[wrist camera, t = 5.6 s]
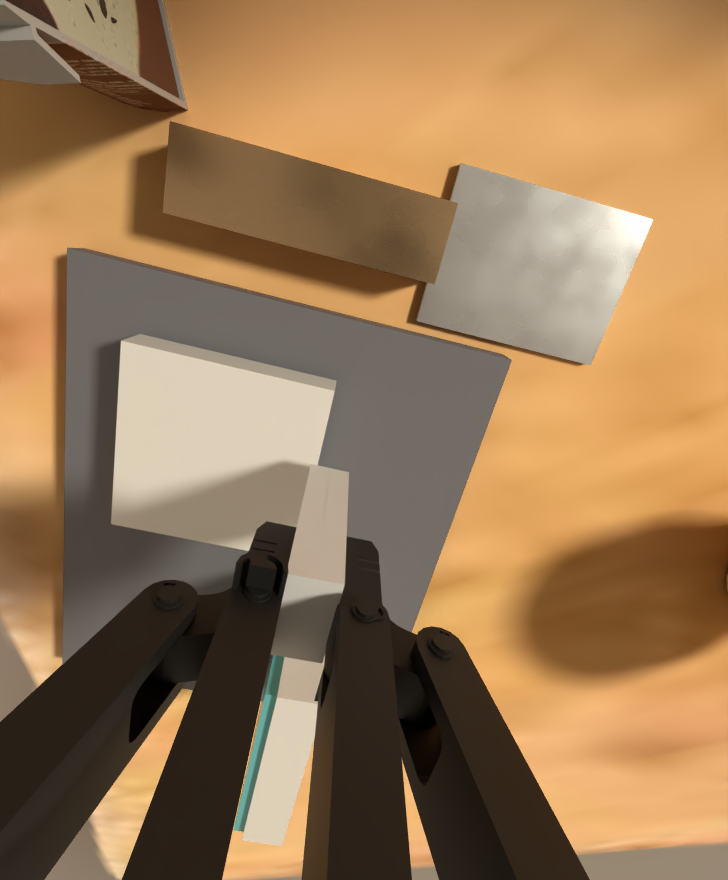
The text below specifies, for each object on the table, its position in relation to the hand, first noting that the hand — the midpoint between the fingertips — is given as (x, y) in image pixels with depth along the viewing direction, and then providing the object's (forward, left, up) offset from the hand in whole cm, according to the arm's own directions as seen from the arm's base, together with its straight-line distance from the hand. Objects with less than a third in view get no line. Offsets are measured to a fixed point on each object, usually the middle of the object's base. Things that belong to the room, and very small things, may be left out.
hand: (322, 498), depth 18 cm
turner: (-10, +1, -5) cm, 11 cm away
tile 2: (+9, +1, -3) cm, 10 cm away
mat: (+4, -2, -4) cm, 7 cm away
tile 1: (0, 0, -2) cm, 2 cm away
